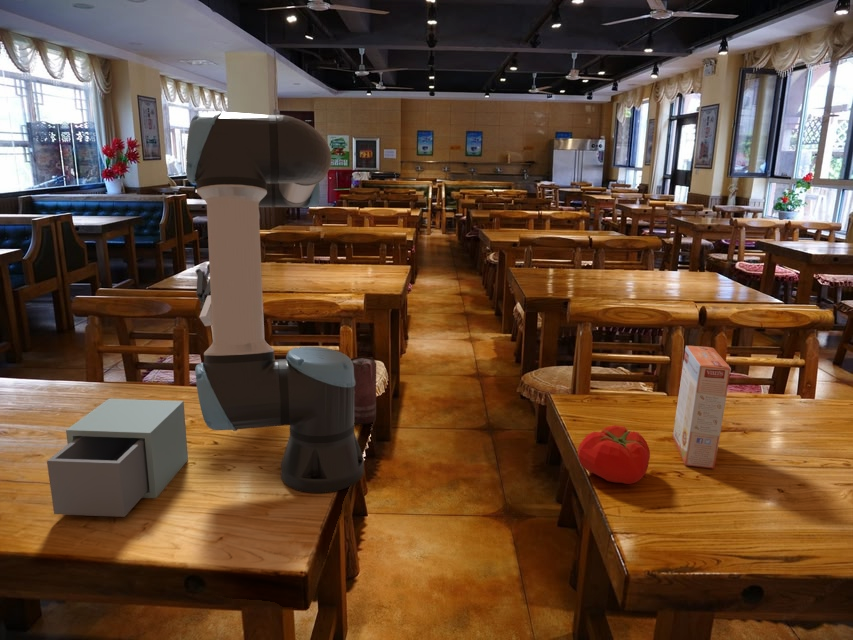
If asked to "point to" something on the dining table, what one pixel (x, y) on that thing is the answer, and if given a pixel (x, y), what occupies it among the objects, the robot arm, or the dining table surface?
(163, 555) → the dining table surface
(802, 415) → the dining table surface
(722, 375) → the cracker box
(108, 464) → the tray
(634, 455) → the tomato
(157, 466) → the sleeve
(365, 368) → the can
